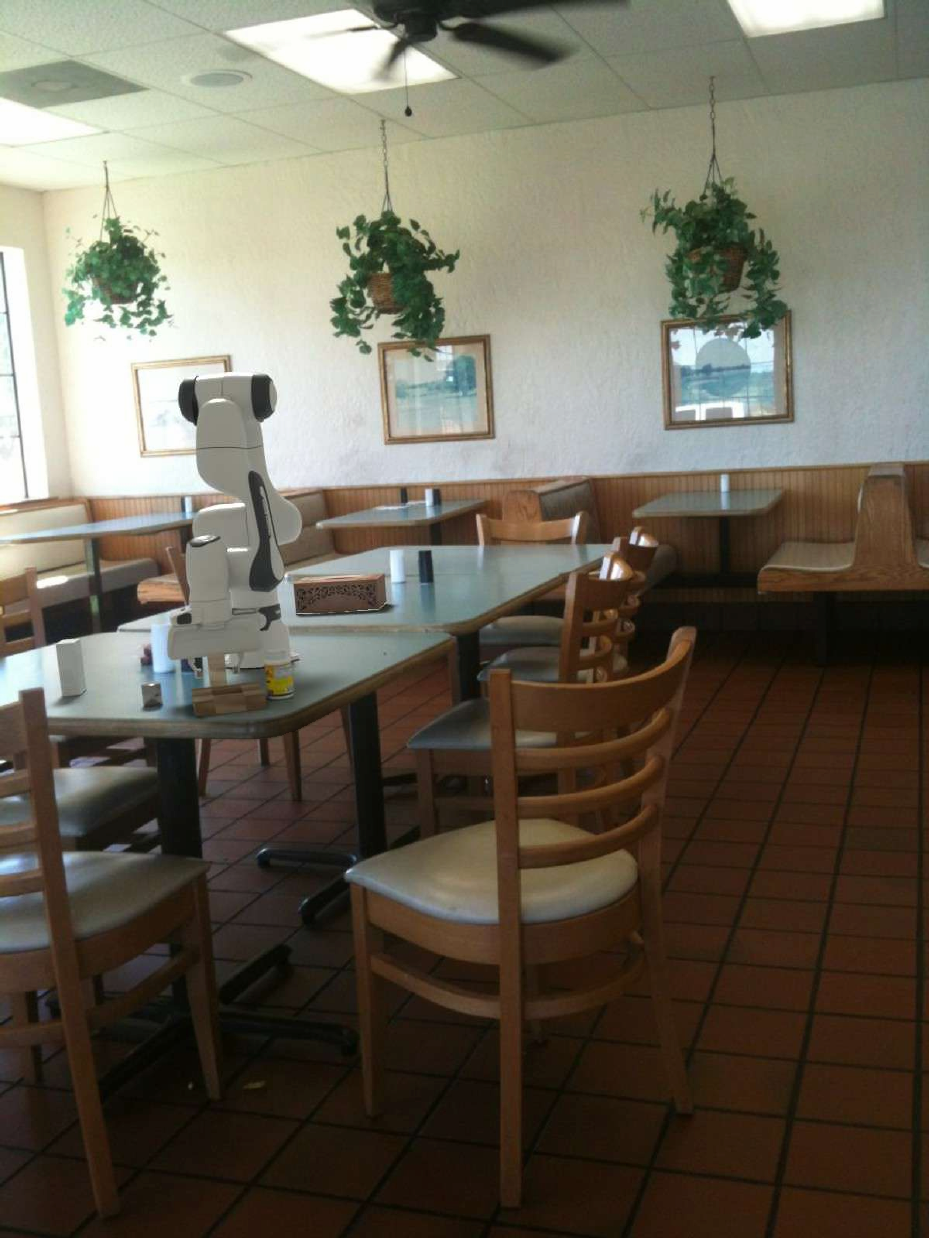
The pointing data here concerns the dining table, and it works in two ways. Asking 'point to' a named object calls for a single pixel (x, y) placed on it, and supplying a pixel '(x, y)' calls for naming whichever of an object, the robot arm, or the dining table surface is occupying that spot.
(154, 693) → the short pin
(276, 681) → the supplement bottle
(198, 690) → the hole plate
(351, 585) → the tissue box cover
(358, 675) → the dining table surface
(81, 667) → the skincare box
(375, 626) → the dining table surface
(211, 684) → the long pin
